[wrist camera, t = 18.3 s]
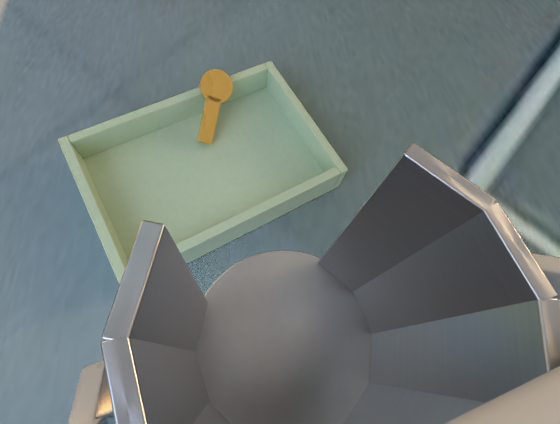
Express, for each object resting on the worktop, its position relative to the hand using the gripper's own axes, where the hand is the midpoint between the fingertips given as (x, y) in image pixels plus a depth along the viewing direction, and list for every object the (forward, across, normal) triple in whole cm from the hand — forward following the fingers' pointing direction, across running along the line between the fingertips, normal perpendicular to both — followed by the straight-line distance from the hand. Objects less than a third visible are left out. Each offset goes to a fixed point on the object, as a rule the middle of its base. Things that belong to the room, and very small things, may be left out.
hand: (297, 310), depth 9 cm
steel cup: (+3, 0, +4) cm, 5 cm away
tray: (+17, 0, +1) cm, 17 cm away
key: (+18, -1, -3) cm, 18 cm away
